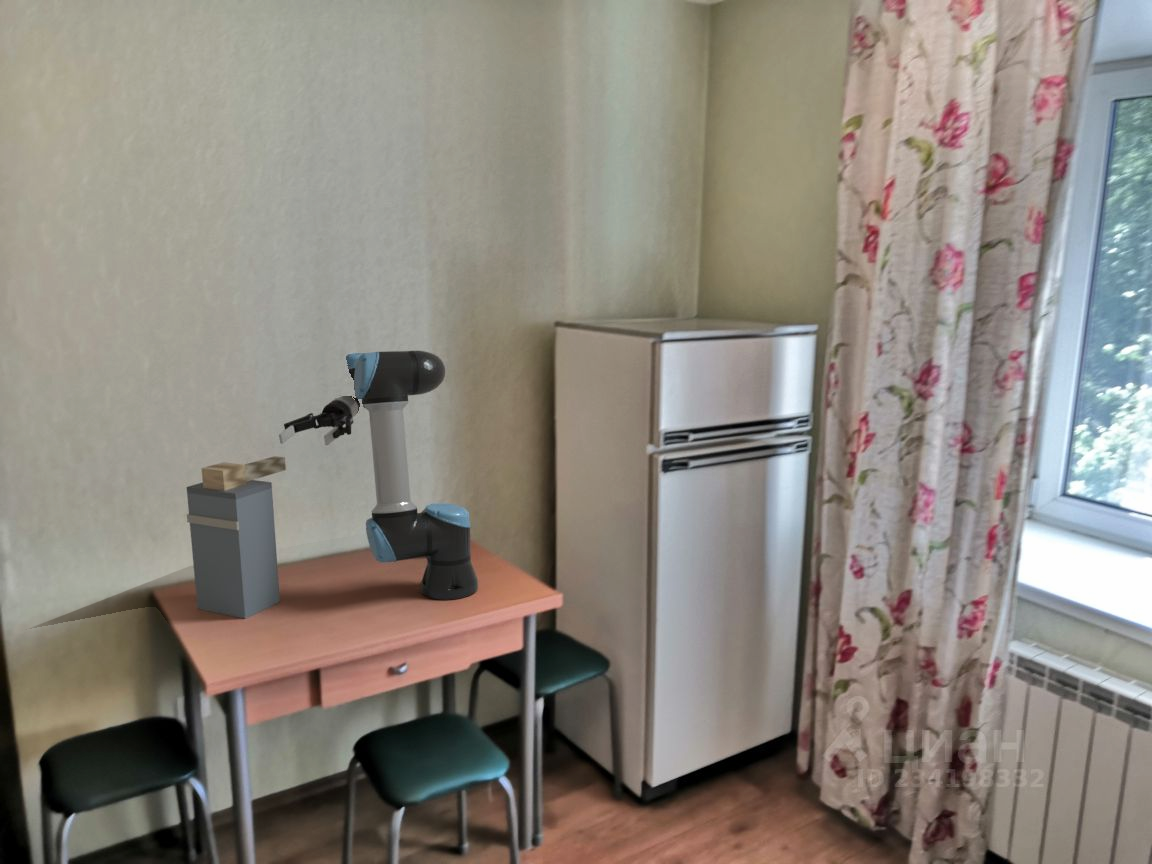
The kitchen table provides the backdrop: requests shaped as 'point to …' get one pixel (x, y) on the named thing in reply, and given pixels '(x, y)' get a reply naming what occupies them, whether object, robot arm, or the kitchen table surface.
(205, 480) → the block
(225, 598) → the lidded box
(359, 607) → the kitchen table surface
